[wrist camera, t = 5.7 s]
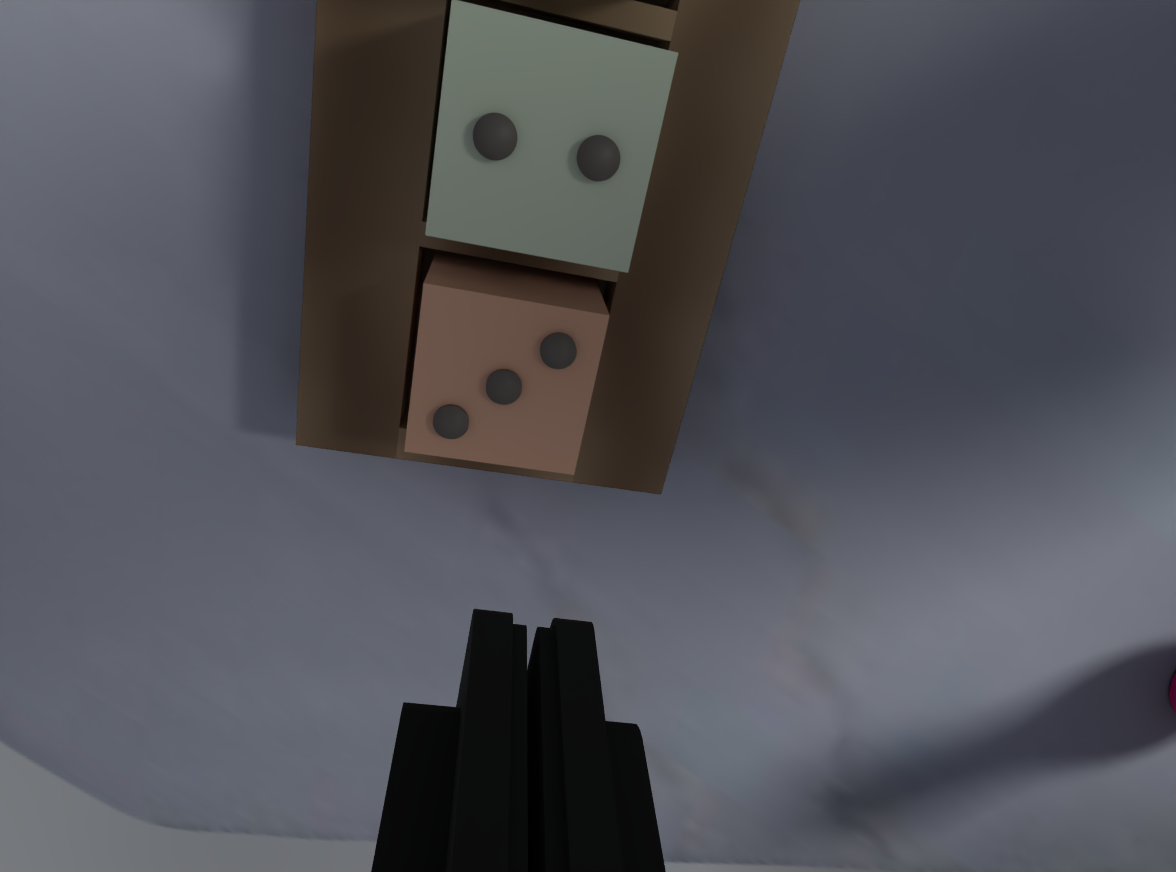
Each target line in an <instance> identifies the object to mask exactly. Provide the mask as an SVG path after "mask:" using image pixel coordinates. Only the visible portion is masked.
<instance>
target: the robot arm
mask: <svg viewBox="0 0 1176 872" xmlns="http://www.w3.org/2000/svg"><path fill="white" fill-rule="evenodd" d="M371 872H665V865H664V860H663V854H662V848H661V843H660V837H659V831H658V825H657V820H656V814H655V808H654V802H653V797H652V791H651V785H650V779H649V774H648V768H647V762H646V757H645V751H644V745H643V739H642V736H641V732H640V729H639V727H638V726H637V724H632V723H621V722H610V721H605V714H604V705H603V697H602V689H601V681H600V673H599V665H598V657H597V649H596V640H595V632H594V626H593V624H592V622H586V621H577V620H568V619H559V618H554V619H553V620H552V623H551V626H550V628H545V627H537V630H536V633H535V637H534V642H533V646H532V651H531V655H530V660H529V664H528V669H527V627H526V625H518V624H513V614H512V613H506V612H497V611H489V610H480V609H474V610H473V615H472V620H471V626H470V631H469V637H468V643H467V648H466V654H465V660H464V666H463V671H462V677H461V683H460V688H459V694H458V700H457V705H456V707H448V706H437V705H426V704H416V703H405V702H404V703H403V707H402V711H401V717H400V722H399V727H398V732H397V738H396V743H395V748H394V754H393V759H392V764H391V770H390V775H389V780H388V786H387V791H386V796H385V802H384V807H383V812H382V818H381V823H380V828H379V834H378V839H377V844H376V850H375V855H374V861H373V865H372V871H371Z"/></svg>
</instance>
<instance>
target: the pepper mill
mask: <svg viewBox="0 0 1176 872" xmlns="http://www.w3.org/2000/svg"><path fill="white" fill-rule="evenodd" d="M1169 697H1170V701H1171V705H1172V708H1173V710H1174V711H1175V712H1176V672H1175V674H1174V676H1173V678H1172V681H1171V686H1170V691H1169Z"/></svg>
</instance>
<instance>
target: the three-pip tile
mask: <svg viewBox="0 0 1176 872" xmlns="http://www.w3.org/2000/svg"><path fill="white" fill-rule="evenodd" d="M609 316H610V315H609V313H608V310H607V307H606V305H605V302H604V300H603V297H602V294H601V292H600V289H599V287H598V284H597V281H596V279H595V278H591V277H585V276H580V275H574V274H569V273H563V272H558V271H552V270H547V269H541V268H536V267H530V266H525V265H519V264H514V263H508V262H503V261H497V260H492V259H486V258H481V257H475V256H470V255H465V254H459V253H454V252H448V251H443V250H437V251H436V253H435V256H434V258H433V261H432V263H431V266H430V268H429V271H428V273H427V276H426V278H425V281H424V283H423V292H422V301H421V309H420V318H419V327H418V335H417V344H416V353H415V362H414V370H413V379H412V388H411V397H410V405H409V414H408V423H407V431H406V440H405V449H404V452H411V453H418V454H425V455H433V456H440V457H447V458H454V459H462V460H469V461H476V462H483V463H491V464H498V465H505V466H513V467H520V468H527V469H534V470H542V471H549V472H556V473H564V474H571V475H574V473H575V468H576V464H577V460H578V455H579V451H580V446H581V442H582V437H583V433H584V428H585V424H586V419H587V415H588V410H589V406H590V401H591V397H592V392H593V388H594V383H595V379H596V375H597V370H598V366H599V361H600V357H601V352H602V348H603V343H604V339H605V334H606V330H607V325H608V321H609Z"/></svg>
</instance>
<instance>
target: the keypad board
mask: <svg viewBox="0 0 1176 872" xmlns="http://www.w3.org/2000/svg"><path fill="white" fill-rule="evenodd" d="M451 1H452V0H317V7H316V28H315V49H314V71H313V92H312V113H311V134H310V156H309V177H308V198H307V219H306V240H305V262H304V283H303V304H302V325H301V346H300V368H299V389H298V410H297V431H296V445H300V446H308V447H315V448H323V449H330V450H337V451H345V452H352V453H359V454H367V455H374V456H382V457H389V458H396V459H404V460H411V461H418V462H426V463H433V464H440V465H448V466H455V467H463V468H470V469H477V470H485V471H492V472H499V473H507V474H514V475H522V476H529V477H536V478H544V479H551V480H558V481H566V482H573V483H580V484H588V485H595V486H603V487H610V488H617V489H625V490H632V491H639V492H647V493H654V494H661V492H662V489H663V485H664V482H665V478H666V475H667V471H668V468H669V464H670V461H671V457H672V453H673V450H674V446H675V443H676V439H677V436H678V432H679V429H680V425H681V421H682V418H683V414H684V411H685V407H686V404H687V400H688V397H689V393H690V390H691V386H692V382H693V379H694V375H695V372H696V368H697V365H698V361H699V358H700V354H701V351H702V347H703V343H704V340H705V336H706V333H707V329H708V326H709V322H710V319H711V315H712V311H713V308H714V304H715V301H716V297H717V294H718V290H719V287H720V283H721V280H722V276H723V272H724V269H725V265H726V262H727V258H728V255H729V251H730V248H731V244H732V241H733V237H734V233H735V230H736V226H737V223H738V219H739V216H740V212H741V209H742V205H743V201H744V198H745V194H746V191H747V187H748V184H749V180H750V177H751V173H752V170H753V166H754V162H755V159H756V155H757V152H758V148H759V145H760V141H761V138H762V134H763V131H764V127H765V123H766V120H767V116H768V113H769V109H770V106H771V102H772V99H773V95H774V91H775V88H776V84H777V81H778V77H779V74H780V70H781V67H782V63H783V60H784V56H785V52H786V49H787V45H788V42H789V38H790V35H791V31H792V28H793V24H794V21H795V17H796V13H797V10H798V6H799V3H800V0H459V1H463V2H467V3H471V4H476V5H480V6H484V7H488V8H492V9H497V10H501V11H505V12H509V13H513V14H518V15H522V16H526V17H530V18H535V19H539V20H543V21H547V22H551V23H556V24H560V25H564V26H568V27H572V28H577V29H581V30H585V31H589V32H593V33H598V34H602V35H606V36H610V37H614V38H619V39H623V40H627V41H631V42H635V43H640V44H644V45H648V46H652V47H656V48H661V49H665V50H669V51H673V52H677V53H678V57H677V61H676V65H675V70H674V74H673V78H672V83H671V87H670V92H669V96H668V100H667V105H666V109H665V113H664V118H663V122H662V127H661V131H660V135H659V140H658V144H657V148H656V153H655V157H654V162H653V166H652V170H651V175H650V179H649V183H648V188H647V192H646V197H645V201H644V205H643V210H642V214H641V218H640V223H639V227H638V232H637V236H636V240H635V245H634V249H633V253H632V258H631V262H630V267H629V271H628V273H627V272H621V271H616V270H610V269H605V268H600V267H594V266H589V265H583V264H578V263H573V262H567V261H562V260H556V259H551V258H546V257H540V256H535V255H529V254H524V253H519V252H513V251H508V250H502V249H497V248H492V247H486V246H481V245H475V244H470V243H465V242H459V241H454V240H448V239H443V238H438V237H432V236H427V235H425V232H426V223H427V214H428V205H429V197H430V188H431V179H432V170H433V161H434V152H435V143H436V134H437V126H438V117H439V108H440V99H441V90H442V81H443V72H444V63H445V54H446V46H447V37H448V28H449V19H450V10H451ZM437 250H443V251H448V252H454V253H459V254H465V255H470V256H475V257H481V258H486V259H492V260H497V261H503V262H508V263H514V264H519V265H525V266H530V267H536V268H541V269H547V270H552V271H558V272H563V273H569V274H574V275H580V276H585V277H591V278H595V279H596V281H597V284H598V287H599V289H600V292H601V294H602V297H603V300H604V302H605V305H606V307H607V310H608V313H609V315H610V316H609V321H608V325H607V330H606V334H605V339H604V343H603V348H602V352H601V357H600V361H599V366H598V370H597V375H596V379H595V383H594V388H593V392H592V397H591V401H590V406H589V410H588V415H587V419H586V424H585V428H584V433H583V437H582V442H581V446H580V451H579V455H578V460H577V464H576V468H575V473H574V475H571V474H564V473H556V472H549V471H542V470H534V469H527V468H520V467H513V466H505V465H498V464H491V463H483V462H476V461H469V460H462V459H454V458H447V457H440V456H433V455H425V454H418V453H411V452H404V449H405V440H406V431H407V423H408V414H409V405H410V397H411V388H412V379H413V370H414V362H415V353H416V344H417V335H418V327H419V318H420V309H421V301H422V292H423V283H424V281H425V278H426V276H427V273H428V271H429V268H430V266H431V263H432V261H433V258H434V256H435V253H436V251H437Z"/></svg>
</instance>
